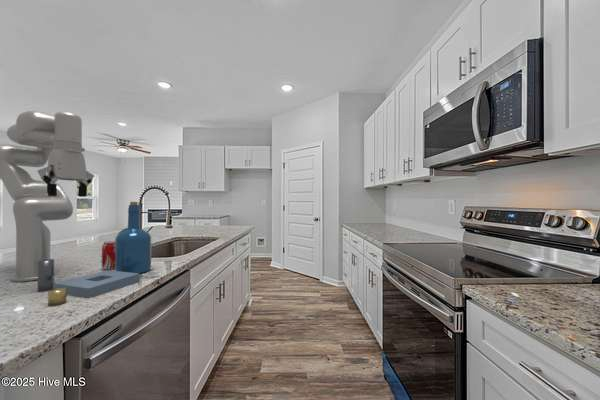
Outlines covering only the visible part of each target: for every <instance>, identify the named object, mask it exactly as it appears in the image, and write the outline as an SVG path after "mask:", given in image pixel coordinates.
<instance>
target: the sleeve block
mask: <svg viewBox="0 0 600 400" xmlns="http://www.w3.org/2000/svg"><path fill="white" fill-rule="evenodd" d="M140 276H141V273H140V274H139V273H130V272H121V271H115V270H104V271H99V272H95V273H91V274H88V275H83V276H80V277H79V276H78V277H75V278H71V279H66V280H63V281H59V282H54V289H58V288H66V289H67V291H66V296H73V297H80V298H85V299H90V298H93V297H97V296H99V295H103V294H106V293H109V292H112V291H115V290H117V289H121V288H124V287H127V286H131V285H133V284H136V283H139V282H140V281H141V280H140V278H141V277H140Z"/></svg>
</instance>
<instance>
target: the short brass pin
mask: <svg viewBox="0 0 600 400" xmlns="http://www.w3.org/2000/svg"><path fill="white" fill-rule="evenodd" d="M66 291H67V289H66V288H58V289H53V290H49V291H47V306H48V307H58V306H62V305H64V304H67V295H66Z"/></svg>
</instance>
